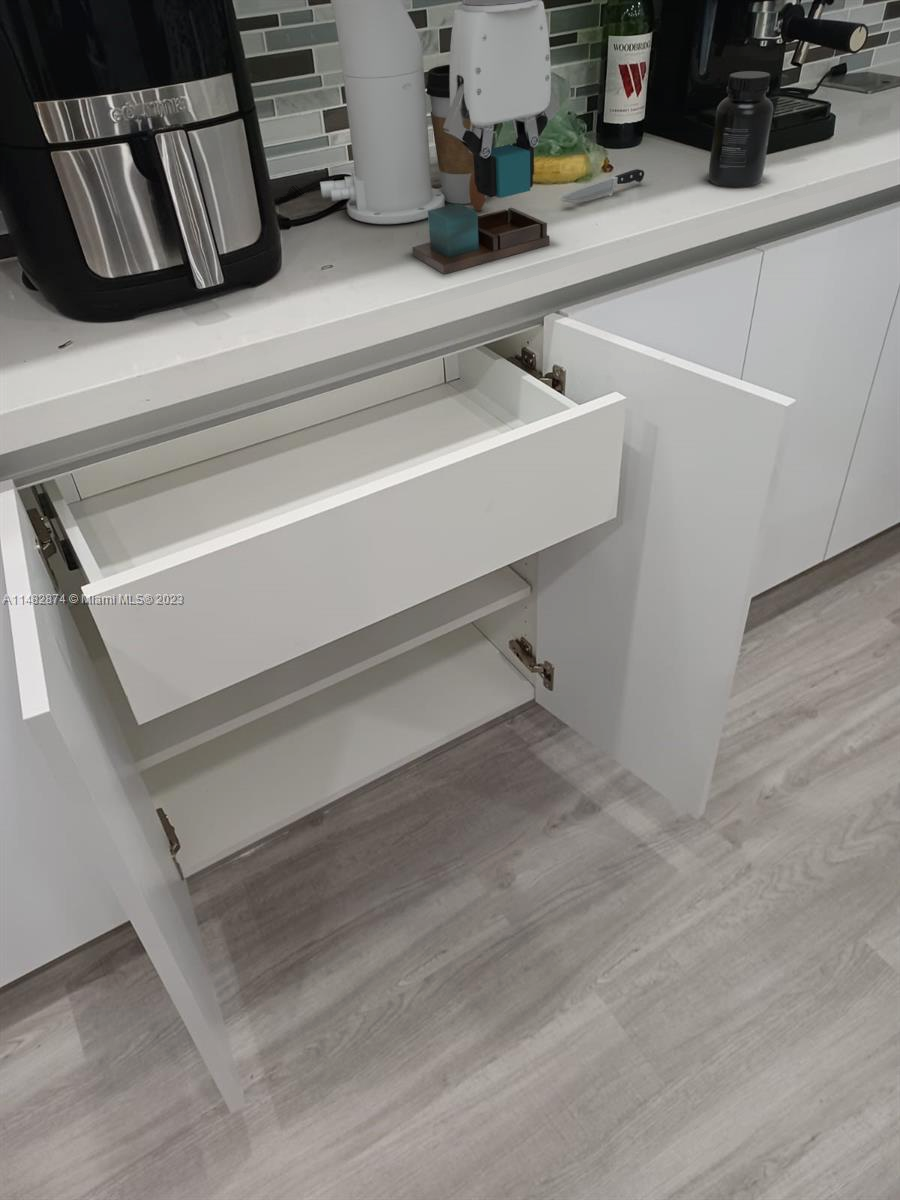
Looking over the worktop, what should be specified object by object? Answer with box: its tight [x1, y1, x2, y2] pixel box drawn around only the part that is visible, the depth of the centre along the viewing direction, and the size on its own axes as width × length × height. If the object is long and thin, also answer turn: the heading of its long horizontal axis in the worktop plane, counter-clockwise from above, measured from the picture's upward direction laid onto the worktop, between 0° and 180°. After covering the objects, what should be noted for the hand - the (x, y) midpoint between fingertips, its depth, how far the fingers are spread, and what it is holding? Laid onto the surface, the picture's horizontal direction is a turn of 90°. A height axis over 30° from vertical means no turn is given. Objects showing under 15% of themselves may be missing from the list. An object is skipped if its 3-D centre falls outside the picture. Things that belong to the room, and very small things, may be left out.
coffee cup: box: [425, 63, 488, 205], centre depth 109 cm, size 8×8×15 cm
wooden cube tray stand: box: [411, 203, 551, 275], centre depth 98 cm, size 14×7×5 cm, turn 120°
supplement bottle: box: [707, 70, 774, 188], centre depth 109 cm, size 7×7×12 cm
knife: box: [559, 168, 645, 203], centre depth 110 cm, size 15×1×2 cm, turn 128°
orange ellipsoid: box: [469, 170, 486, 212], centre depth 108 cm, size 2×2×5 cm
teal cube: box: [491, 144, 531, 199], centre depth 95 cm, size 4×4×4 cm
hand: (504, 187), depth 96 cm, fingers closed on teal cube, 4 cm apart
